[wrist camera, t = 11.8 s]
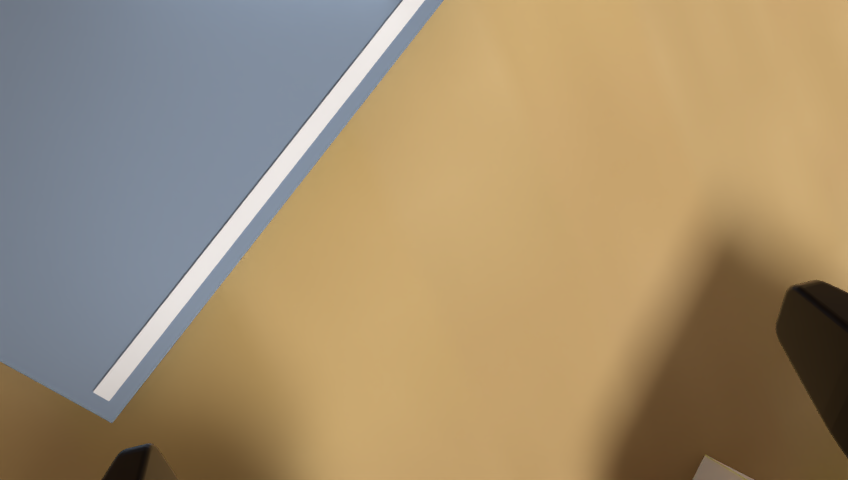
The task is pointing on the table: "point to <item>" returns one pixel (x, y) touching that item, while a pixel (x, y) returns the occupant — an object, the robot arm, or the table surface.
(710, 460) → the puzzle toy
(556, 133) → the table surface
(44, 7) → the blueprint board
